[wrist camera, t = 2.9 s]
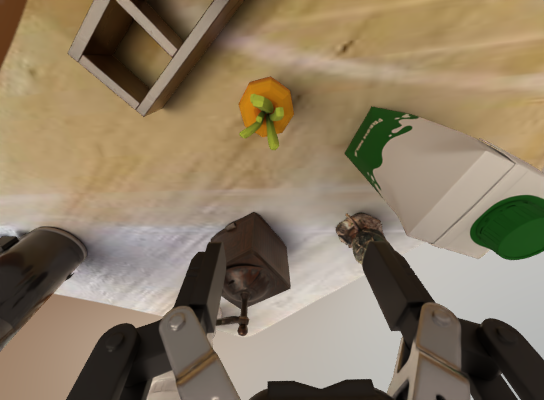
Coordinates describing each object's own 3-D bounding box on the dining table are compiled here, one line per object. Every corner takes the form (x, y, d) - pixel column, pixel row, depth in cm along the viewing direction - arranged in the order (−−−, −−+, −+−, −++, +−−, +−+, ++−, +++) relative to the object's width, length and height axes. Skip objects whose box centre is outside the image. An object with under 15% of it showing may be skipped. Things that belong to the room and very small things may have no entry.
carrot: (281, 117, 29) (293, 161, 17) (244, 111, 29) (228, 151, 16) (289, 75, 27) (310, 89, 14) (249, 67, 26) (233, 75, 14)
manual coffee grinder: (253, 207, 37) (244, 309, 22) (288, 246, 42) (300, 350, 27) (187, 246, 42) (143, 353, 26) (226, 277, 47) (207, 382, 31)
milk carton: (385, 175, 34) (499, 286, 18) (334, 156, 33) (409, 259, 16) (424, 121, 30) (626, 199, 13) (368, 95, 28) (522, 148, 11)
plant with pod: (375, 194, 36) (469, 310, 19) (385, 240, 42) (466, 361, 25) (327, 211, 38) (377, 332, 21) (344, 253, 44) (393, 375, 27)
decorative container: (209, 329, 58) (188, 426, 42) (166, 316, 54) (126, 417, 39) (230, 308, 53) (216, 408, 37) (184, 292, 49) (148, 396, 34)
